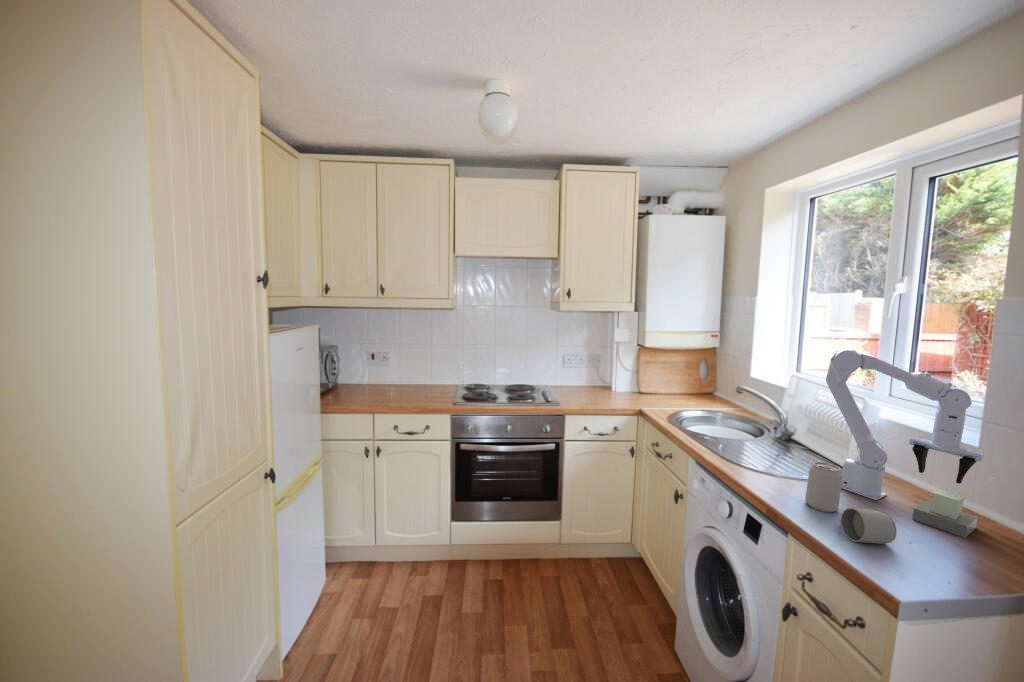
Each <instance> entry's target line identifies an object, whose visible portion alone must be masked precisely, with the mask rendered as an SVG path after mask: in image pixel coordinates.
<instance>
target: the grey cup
mask: <svg viewBox="0 0 1024 682" xmlns="http://www.w3.org/2000/svg"><path fill="white" fill-rule="evenodd" d="M839 526H840V527H841V529H842V531H843V534H844V535H845V536H846V537H847V538H848V539H849V540H850V541H852V542H854V543H864V544H877V545H878V544H881V545H886V544H891V543H892V542H894V541H895V539H896V538H897V533H898V531H897V526H896V524H895V522H894V521H893V518H891V517H890V516H889V515H888V514H886V513H884V512H881V511H879V510H878V511H877V510H872V509H865V508H864V509H863V508H859V507H852V506H851V507H847V508H845V509H844V510H843V511H842V512H841V516H840V519H839Z"/></svg>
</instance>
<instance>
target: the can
mask: <svg viewBox="0 0 1024 682" xmlns="http://www.w3.org/2000/svg"><path fill="white" fill-rule="evenodd" d="M842 479H843V474H842V469H841V468H840V466H838V465H835V464H832V463H829V462H824V461H814V462H813V463H812V465H811V466H810V467H809V472H808V477H807V483H806V491H805V502H806V503H807V504H808V506H810V507H811V508H812V507H813V509H814V510H817V511H819V510H820V512H824V513H833V512H836V511H838V510H839V505H840V498H841V491H842V488H841V486H842Z"/></svg>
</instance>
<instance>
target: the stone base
mask: <svg viewBox="0 0 1024 682" xmlns="http://www.w3.org/2000/svg"><path fill="white" fill-rule="evenodd" d="M930 503H931V500H930V501H929V500H925V501H924V502H923V501H922V503H920V504H919V505H917V506H915V507H914V508H913V513H912V520H914V521H917V522H920V523H923V524H926V525H928V526H930V527H934V528H937V529H940V530H941V531H944V532H948V533H950V534H953V535H955V536H959V537H961V538H963V539H964V538H967V537H968V536H969V535H970V534H971V533H972V532H973V531H974V530H975V529H976V528H977V524H978V519H979V517H978V516H977V515H973V514H970V513H967V512H964V511H962V514H961V516H959V517H958V518H957V519H953V518H950V517H947V516H944V515H941V514H938V513H935V512H932V511H929V509H930Z"/></svg>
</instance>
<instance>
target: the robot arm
mask: <svg viewBox="0 0 1024 682" xmlns="http://www.w3.org/2000/svg"><path fill="white" fill-rule="evenodd" d="M859 368H860V369H861V370H864V371H865V370H867V371H868V370H869V371H870V370H874V371H876V372H879V373H882V374H884V375H886V376H887V377H890V378H893V379H895V380H898V381H900V382H902V383H904V385H905V388H906V389H907V390H908V391H910V392H913V393H916V394H918V395H919V396H922V397H923V398H926V399H929V400H931V401H934V402H935V401H936V402H938V404H937V410H936V411H935V418H934V424H933V429H932V434H931V440H930V439H924V438H923V439H922V438H920V437H919V438H918V437H913V436H911V437H909V443H908V445H910V446H913V447H912V452H913V454H914V456H915V458H916V462H917V466H918V473H921V474H923V473H925V471H926V463H927V457H928V453H929V449H930V450H933V451H937V452H941V453H946V454H949V455H953V456H957V457H960V458H959V459H958V460H959V461H958V462H959V463H958V471H957V476H956V480H955V483H956V484H960V485H961V484H962V482H963V480H964V477H965V475H966V474H967V473H968V471H969V470H970V469H971V467H972V466H974V465H975V464H976V463H977V462H978V463H981V462H983V459H984V453H982V452H977V451H974V450H971V449H967V448H964V447H961V444H962V437H963V432H964V427H965V421H966V412H967V410H968V408H970V407H971V406H972V404H973V401H972V398H971V396H970V394H969V393H967V392H966V391H965V390H963V389H961V388H959V387H957V386H956V385H953V384H952V382H948V381H946V382H945V381H942V380H940V379H938V378H936V377H933V376H932V373H929V372H927V371H924V372H922V371H916V372H909V371H907V370H905V369H903V368H901V367H899V366H897V365H894V364H892V363H889V362H887V361H885V360H884V359H881V358H878V357H877V356H875V355H872V354H869V353H865V352H863V351H860V350H859V351H858V352H857V351H856V350H855V349H853V348H850V347H844V348H840V349H838V350H837V351H836V352H835V353H834V354H833V356H832V357H831V358H830V362H829V365H828V369H827V372H826V374H827V375H826V377H825V381H826V384H827V386H828V388H829V390H830V393H831V395H832V396H833V399H834V400H835V402H836V404H837V406H838V408H839V410H840V413H841V414H842V416H843V418H844V420H845V422H846V424H847V426H848V428H849V430H850V432H851V435H852V436H853V439H854V440H855V442H856V451H857V453H858V456H856V457H855V458H854V459H853V458H848V457H847V458H846V459H845V461H844V463H843V465H842V469H841V473H842V474H843V479H842V486H841V490H842V489H843V490H844V491H848V492H852V493H854V494H857V495H860V496H863V497H866V498H868V499H871V500H873V501H878V500H880V499H882V498H884V497H886V496H887V492H884V491H882V490H883V486H884V479H885V472H886V463H887V461H888V455H887V452H885V450H884V447H883V446H882V444H881V443H880V442H879V441H877V440H876V439H875V437H874V436H873V434H872V432H871V430H870V428H869V426H868V424H867V422H866V421H865V418H864V417H863V414H862V412H861V410H860V408H859V407H858V404H857V403H856V401H855V398H854V396H853V395H852V393H851V391H850V389H849V387H848V385H847V382H848V380H849V379H850V377H851V375H852V374H853V373H854V372H855V371H857V370H859Z"/></svg>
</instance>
